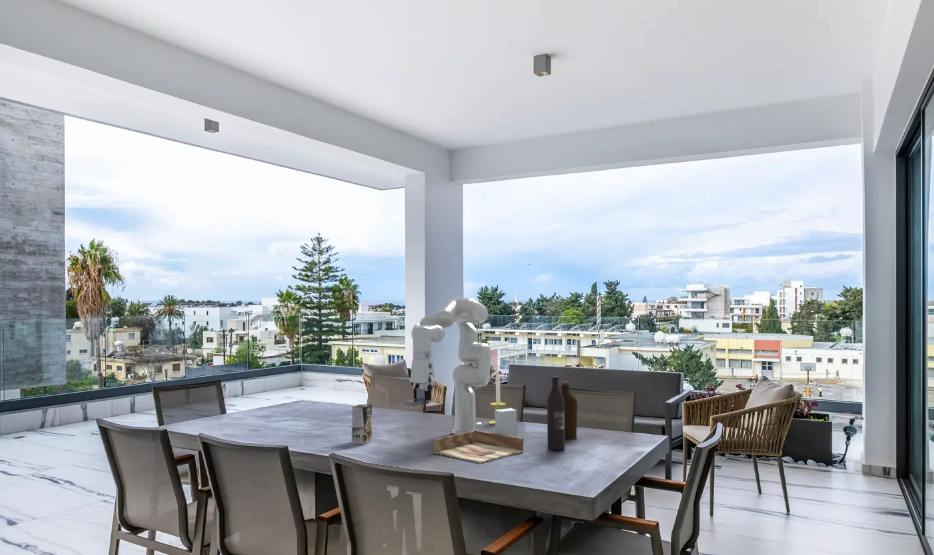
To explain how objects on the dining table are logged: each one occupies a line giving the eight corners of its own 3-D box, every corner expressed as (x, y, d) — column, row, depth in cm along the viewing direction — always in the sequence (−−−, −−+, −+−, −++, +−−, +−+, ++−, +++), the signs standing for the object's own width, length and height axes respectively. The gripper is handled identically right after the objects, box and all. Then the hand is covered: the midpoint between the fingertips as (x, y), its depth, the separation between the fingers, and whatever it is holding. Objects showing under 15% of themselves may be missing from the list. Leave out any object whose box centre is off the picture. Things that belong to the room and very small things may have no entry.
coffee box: (365, 444, 275) (365, 407, 275) (351, 444, 276) (351, 406, 277) (372, 440, 284) (372, 404, 284) (359, 439, 285) (359, 403, 286)
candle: (487, 424, 320) (486, 370, 321) (489, 421, 330) (489, 368, 331) (507, 424, 318) (506, 370, 320) (509, 421, 328) (508, 369, 330)
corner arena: (476, 443, 276) (476, 430, 277) (523, 452, 258) (523, 438, 259) (433, 453, 257) (433, 439, 258) (480, 463, 240) (480, 448, 240)
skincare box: (512, 442, 278) (511, 407, 279) (517, 444, 272) (517, 409, 273) (494, 443, 275) (494, 409, 276) (499, 446, 269) (499, 411, 270)
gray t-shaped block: (419, 402, 266) (419, 387, 267) (429, 403, 262) (428, 388, 263) (403, 404, 260) (402, 390, 260) (412, 406, 256) (412, 391, 256)
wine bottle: (554, 451, 258) (553, 377, 260) (544, 448, 265) (543, 376, 266) (568, 450, 262) (567, 376, 263) (558, 446, 268) (557, 375, 269)
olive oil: (569, 434, 294) (569, 379, 295) (582, 438, 284) (581, 382, 286) (549, 436, 290) (549, 381, 291) (562, 440, 280) (561, 383, 282)
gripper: (442, 356, 261) (443, 400, 261) (414, 354, 273) (415, 396, 272) (429, 357, 256) (430, 402, 255) (401, 355, 268) (401, 398, 267)
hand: (422, 398), depth 264 cm, fingers closed on gray t-shaped block, 6 cm apart
